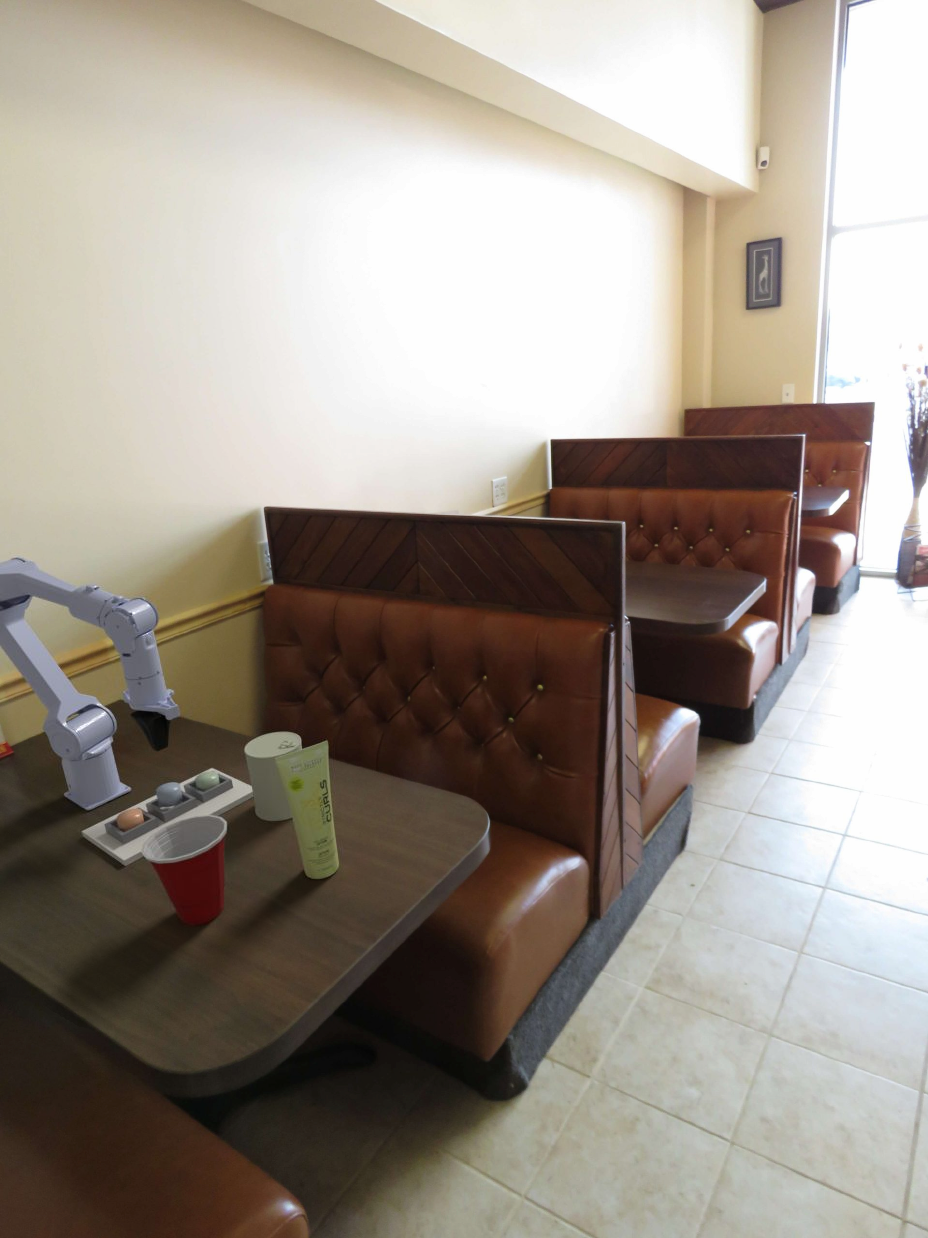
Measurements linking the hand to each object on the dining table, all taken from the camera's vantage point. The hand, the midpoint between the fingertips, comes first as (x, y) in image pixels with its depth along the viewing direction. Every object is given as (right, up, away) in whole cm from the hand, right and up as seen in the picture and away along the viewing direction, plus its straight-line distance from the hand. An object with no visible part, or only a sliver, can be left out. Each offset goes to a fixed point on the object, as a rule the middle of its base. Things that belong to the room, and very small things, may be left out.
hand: (160, 748), depth 126 cm
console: (+2, -11, -1) cm, 11 cm away
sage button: (+7, -8, +4) cm, 11 cm away
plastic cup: (+16, -18, -25) cm, 34 cm away
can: (+21, -10, -1) cm, 23 cm away
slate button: (+2, -9, -2) cm, 9 cm away
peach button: (-2, -12, -6) cm, 13 cm away
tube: (+30, -14, -18) cm, 38 cm away
